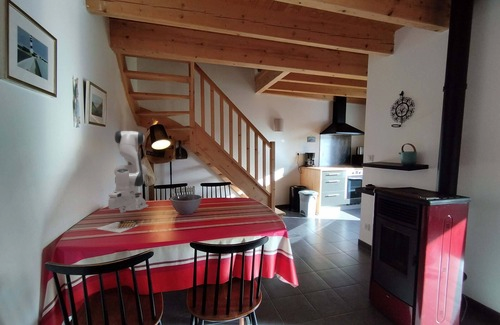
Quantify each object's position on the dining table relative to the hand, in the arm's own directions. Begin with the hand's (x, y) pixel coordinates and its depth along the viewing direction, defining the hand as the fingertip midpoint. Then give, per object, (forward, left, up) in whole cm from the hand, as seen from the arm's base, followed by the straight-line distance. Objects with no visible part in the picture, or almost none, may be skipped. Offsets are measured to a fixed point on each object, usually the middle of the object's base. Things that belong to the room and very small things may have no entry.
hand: (122, 212), depth 166 cm
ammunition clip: (-5, +1, -8) cm, 9 cm away
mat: (+4, 0, -9) cm, 10 cm away
